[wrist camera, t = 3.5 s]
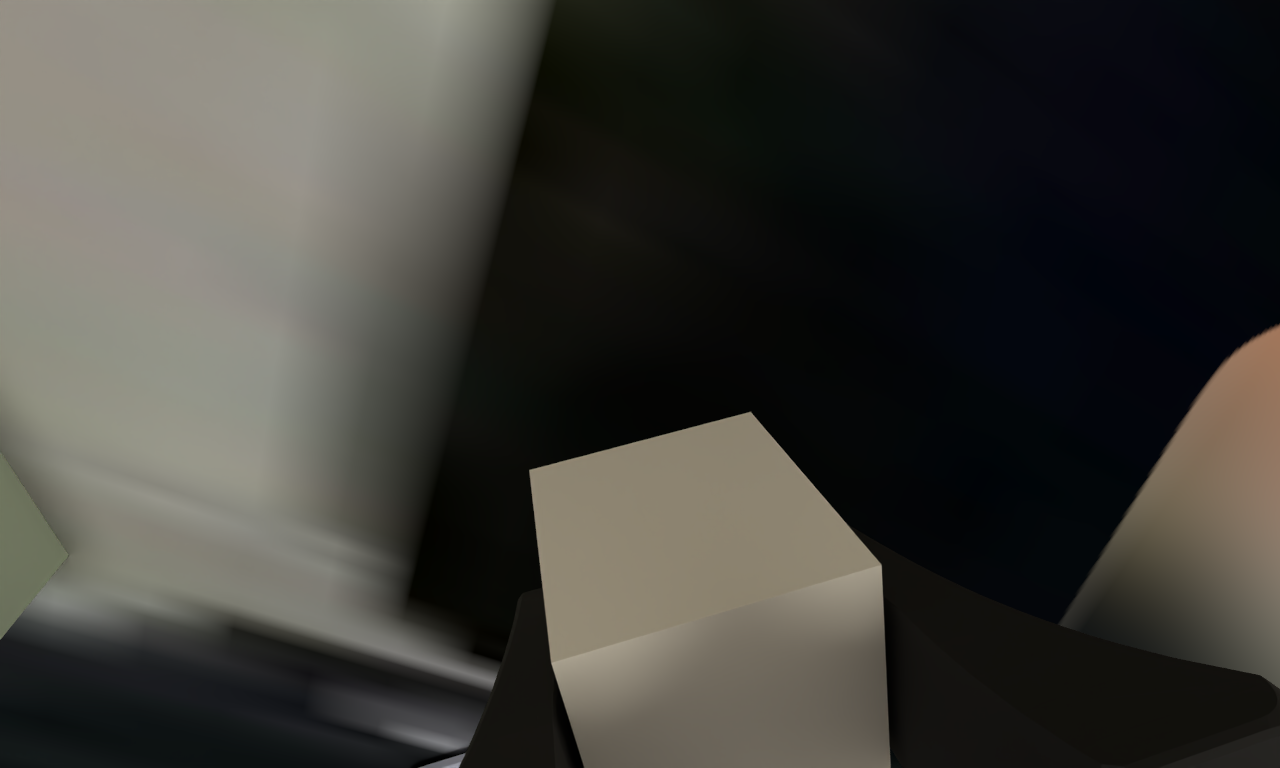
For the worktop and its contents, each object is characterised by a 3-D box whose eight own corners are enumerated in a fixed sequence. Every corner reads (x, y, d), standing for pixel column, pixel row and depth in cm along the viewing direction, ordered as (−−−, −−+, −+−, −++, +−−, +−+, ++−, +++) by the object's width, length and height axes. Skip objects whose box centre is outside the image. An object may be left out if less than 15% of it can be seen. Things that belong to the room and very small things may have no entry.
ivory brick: (772, 587, 15) (891, 786, 11) (579, 644, 15) (619, 879, 10) (750, 412, 14) (881, 564, 9) (529, 469, 13) (551, 662, 9)
